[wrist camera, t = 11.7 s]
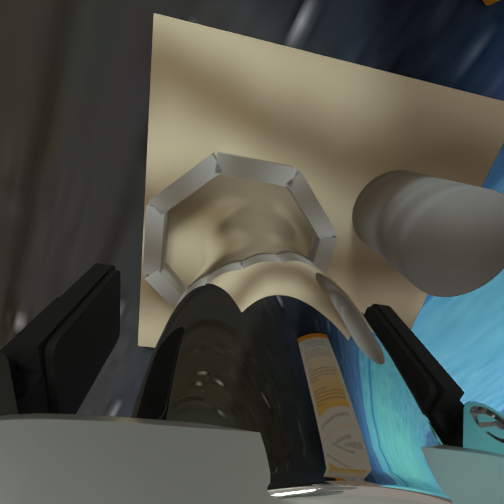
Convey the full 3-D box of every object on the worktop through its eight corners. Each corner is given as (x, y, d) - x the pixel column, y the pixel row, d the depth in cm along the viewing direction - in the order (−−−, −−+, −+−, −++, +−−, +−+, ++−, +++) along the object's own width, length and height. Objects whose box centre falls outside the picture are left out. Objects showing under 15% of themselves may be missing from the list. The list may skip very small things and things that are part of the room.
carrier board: (160, 22, 14) (94, -74, 8) (503, 107, 17) (678, 90, 10) (142, 335, 22) (101, 423, 15) (381, 363, 24) (435, 449, 18)
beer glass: (175, 226, 17) (-67, 597, 3) (278, 174, 16) (500, 396, 3) (228, 310, 20) (211, 713, 6) (319, 269, 19) (543, 633, 5)
